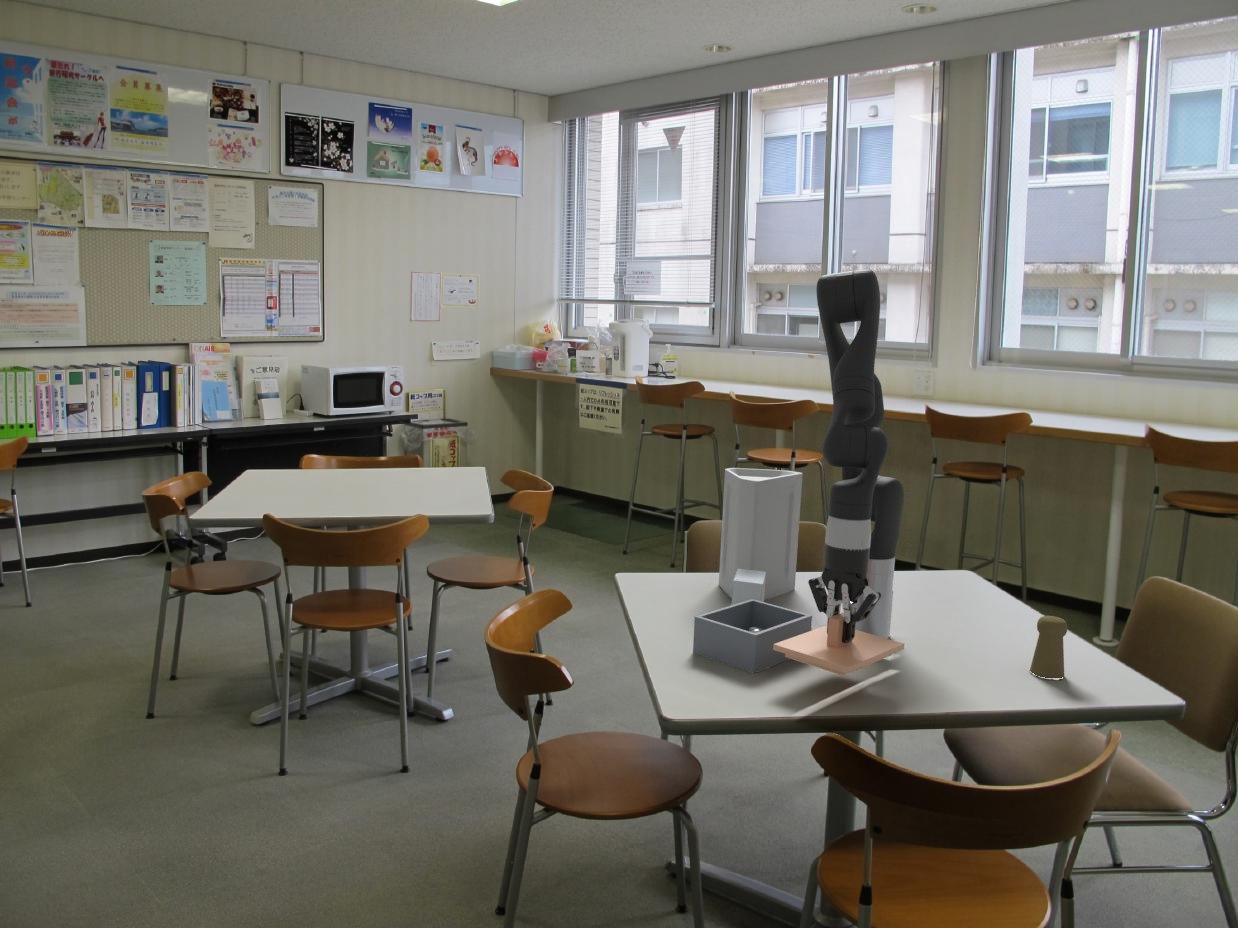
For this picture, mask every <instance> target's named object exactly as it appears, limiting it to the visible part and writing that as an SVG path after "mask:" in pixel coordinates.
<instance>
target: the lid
mask: <svg viewBox="0 0 1238 928" xmlns="http://www.w3.org/2000/svg"><path fill="white" fill-rule="evenodd" d="M827 622H828V621H827ZM843 622H845V621H844V611H843V612H840V614H837V615H834V616H831V617H829V622H828V634H827V624H825V625H823V626H820V627H818V628H814V629H813V630H812V629H811V631H809V632H806V633H803V634H801V635H798V636H795V637H792V638H789V639H787V640H784V641H781V642H778V643H775V644H773V650H775V651H779V652H782V653H785V657H787V658H790V659H789V660H794V661H796V662H800V663H802V664H806V665H809V666H812V667H815V668H818V669H822V670H825V671H828V672H831V673H833V674H837V675H840V676H843V677H844V676H846V675H849V674H851V673H854V672H856V671H858V670H861V669H862V668H865V667H868V666H870V665H872V664H874V663H876V662H879V661H882V660H884V659H886V658H888V657H890V656H892V655H894V654H896V653H898V652H900V651H901V652H902V651H903V650H904V649H905V643H904V642H901V641H897V640H894V639H890V638H888V639H887V638H883V637H880V636H876V635H872V634H869V633H865V632H862V631H858V630H855V637H854V639H853V640H851V642H849V643H843V642H842V633H843Z"/></svg>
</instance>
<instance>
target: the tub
mask: <svg viewBox="0 0 1238 928" xmlns="http://www.w3.org/2000/svg"><path fill="white" fill-rule="evenodd" d="M812 622H813V615H811V614H808V613H804V612H801V611H797V610H794V609H790V608H786V607H782V606H779V605H775V604H772V603H769V602H765V601H764V602H761V601H758V600H754V599H751V600H747V601H744V602H741V603H737V604H734V605H731V604H730V605H728V606H724V607H722V608H718V609H715V610H712V611H708V612H706V613H703V614H699V615H695V616H694V623H693V624H694V625H693V644H692V645H693V646H692V647H693V648H692V653H693V654H695V655H698V656H702V657H704V658H708V659H711V660H714V661H716V662H719V663H722V664H724V665H728V666H731V667H734V668H736V669H739V670H743V671H746V672H748V673H751V674H755V673H758V672H761V671H763V670H766V669H768V668H771V667H773V666H776V665H778V664H781V663H783V662H786V661H789V660H791V659H790V658H787V657H785V653H782V652H779V651H775V650H773V644H775V643H778V642H781V641H784V640H787V639H789V638H792V637H795V636H798V635H801V634H803V633H806V632H809V631H812ZM751 627H759V628H763V629H764V630H763V631H760V632H757V633H753V632H749V628H751Z"/></svg>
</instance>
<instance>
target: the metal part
mask: <svg viewBox="0 0 1238 928" xmlns="http://www.w3.org/2000/svg"><path fill="white" fill-rule="evenodd" d="M763 630H764V629H763V628H759V627H751V628H749V632H753V633H757V632H760V631H763Z"/></svg>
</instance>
